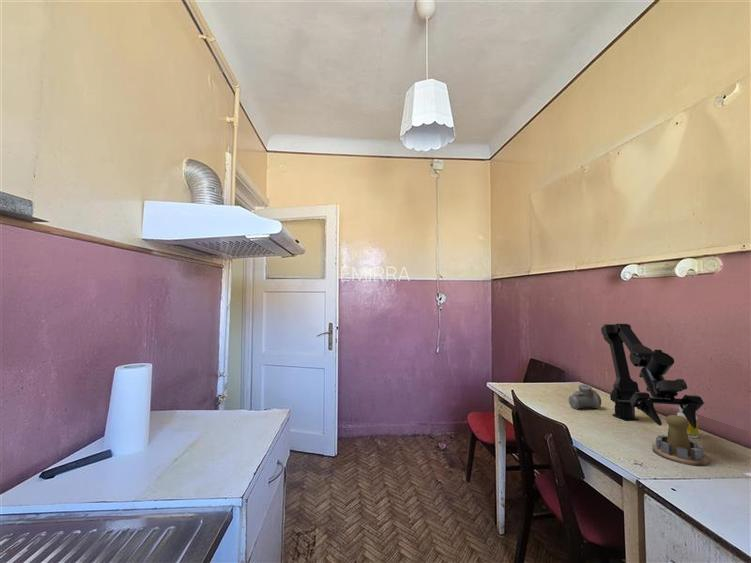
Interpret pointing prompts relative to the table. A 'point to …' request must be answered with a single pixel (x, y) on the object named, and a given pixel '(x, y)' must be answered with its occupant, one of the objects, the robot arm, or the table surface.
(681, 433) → the cork
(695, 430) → the supplement bottle
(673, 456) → the walnut base
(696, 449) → the castellated collar
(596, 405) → the pipe fitting
